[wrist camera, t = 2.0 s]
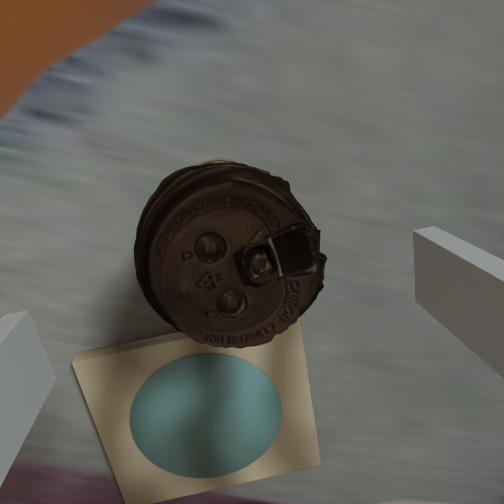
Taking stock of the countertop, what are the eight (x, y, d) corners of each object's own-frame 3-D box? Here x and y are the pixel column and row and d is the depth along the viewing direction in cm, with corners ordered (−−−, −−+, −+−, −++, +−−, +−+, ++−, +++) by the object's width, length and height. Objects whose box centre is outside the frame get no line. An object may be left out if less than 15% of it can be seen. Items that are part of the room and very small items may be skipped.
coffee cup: (301, 170, 28) (375, 216, 16) (259, 276, 31) (295, 386, 18) (180, 123, 27) (160, 136, 14) (144, 240, 29) (100, 335, 17)
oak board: (295, 307, 32) (299, 316, 31) (317, 454, 37) (321, 467, 36) (76, 353, 31) (70, 363, 30) (129, 496, 36) (127, 511, 35)
